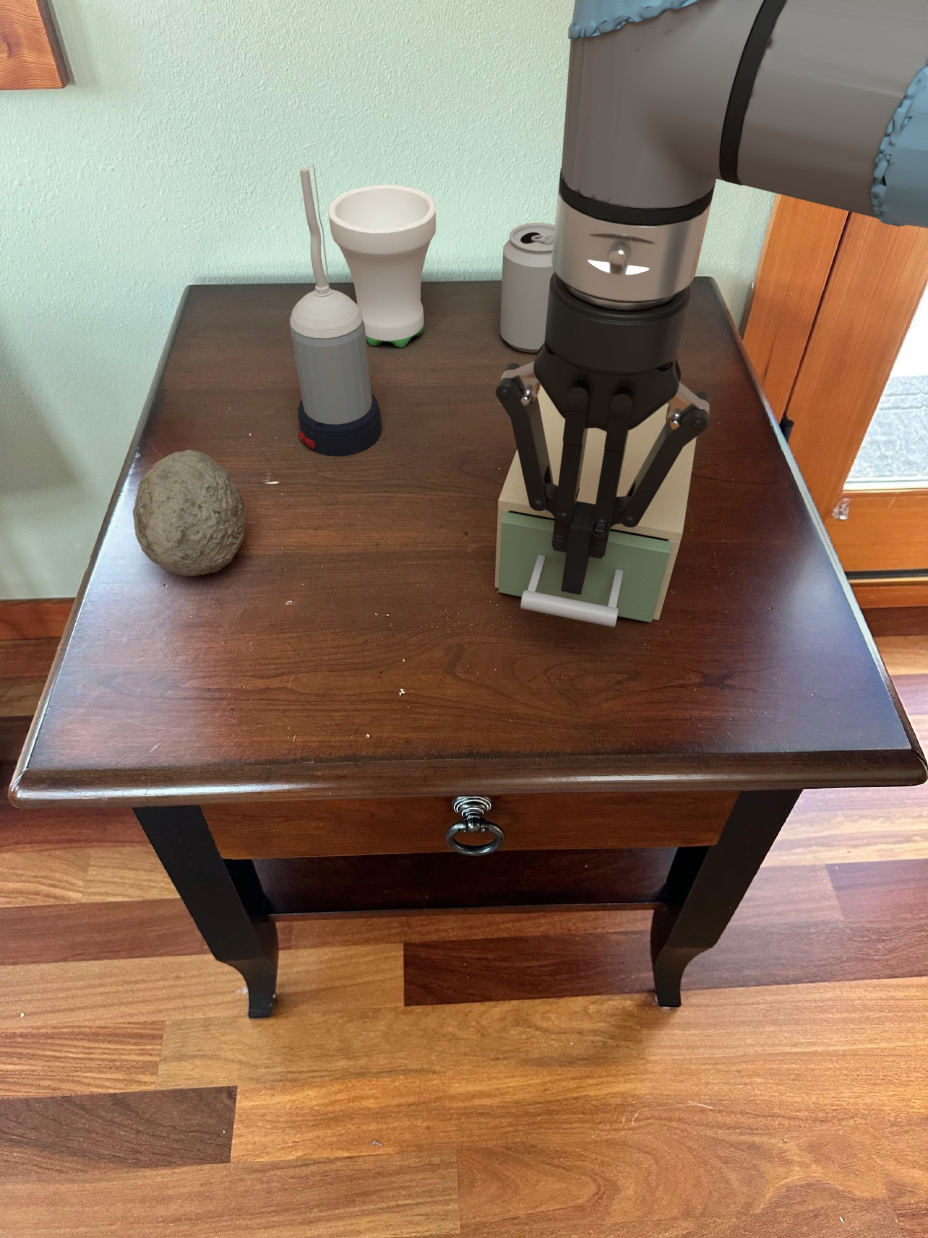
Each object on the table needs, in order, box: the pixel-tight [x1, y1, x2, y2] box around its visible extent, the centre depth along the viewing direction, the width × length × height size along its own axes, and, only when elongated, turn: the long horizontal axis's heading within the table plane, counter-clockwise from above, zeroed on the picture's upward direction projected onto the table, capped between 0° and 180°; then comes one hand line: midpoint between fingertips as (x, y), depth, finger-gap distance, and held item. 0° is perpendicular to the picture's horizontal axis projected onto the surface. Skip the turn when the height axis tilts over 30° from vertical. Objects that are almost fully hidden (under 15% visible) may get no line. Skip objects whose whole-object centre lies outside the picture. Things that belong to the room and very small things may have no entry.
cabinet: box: [494, 384, 698, 621], centre depth 70 cm, size 16×14×10 cm
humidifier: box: [289, 163, 383, 457], centre depth 75 cm, size 8×8×25 cm
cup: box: [327, 184, 437, 348], centre depth 91 cm, size 11×11×14 cm
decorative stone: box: [132, 448, 247, 577], centre depth 69 cm, size 10×8×10 cm
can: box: [499, 222, 555, 354], centre depth 91 cm, size 8×8×12 cm
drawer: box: [498, 512, 672, 628], centre depth 68 cm, size 20×13×8 cm, turn 165°
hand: (574, 580), depth 62 cm, fingers closed
